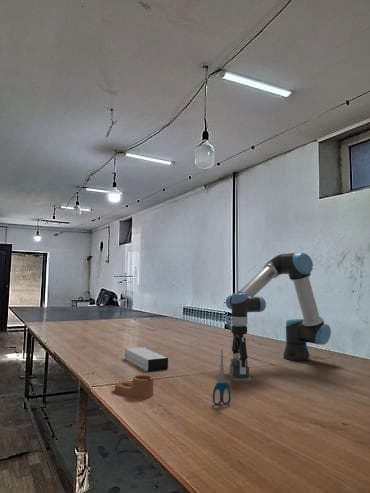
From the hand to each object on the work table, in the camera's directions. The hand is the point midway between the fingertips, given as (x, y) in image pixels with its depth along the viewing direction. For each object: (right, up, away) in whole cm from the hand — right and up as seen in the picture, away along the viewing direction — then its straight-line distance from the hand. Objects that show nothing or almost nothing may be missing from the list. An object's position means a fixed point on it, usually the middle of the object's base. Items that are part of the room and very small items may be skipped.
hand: (239, 370), depth 175 cm
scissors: (-12, 0, -39) cm, 40 cm away
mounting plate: (0, -3, 0) cm, 3 cm away
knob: (0, -2, 0) cm, 2 cm away
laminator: (-48, -5, +25) cm, 55 cm away
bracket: (-47, -1, -26) cm, 53 cm away
